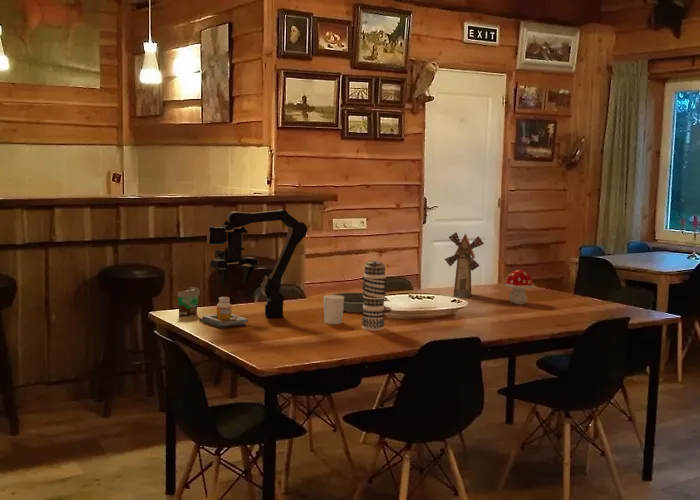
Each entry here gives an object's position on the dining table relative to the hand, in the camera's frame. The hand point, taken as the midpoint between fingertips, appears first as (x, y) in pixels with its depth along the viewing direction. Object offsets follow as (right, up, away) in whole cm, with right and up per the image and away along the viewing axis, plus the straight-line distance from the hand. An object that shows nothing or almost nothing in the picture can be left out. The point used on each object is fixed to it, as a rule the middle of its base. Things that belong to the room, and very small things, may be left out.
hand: (234, 284), depth 318 cm
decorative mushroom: (+120, -11, +52) cm, 131 cm away
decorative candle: (+53, -16, -9) cm, 56 cm away
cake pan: (+47, -11, +31) cm, 58 cm away
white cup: (+38, -15, -1) cm, 41 cm away
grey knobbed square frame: (-3, -14, -9) cm, 17 cm away
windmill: (+97, -8, +67) cm, 118 cm away
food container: (-18, -12, +6) cm, 22 cm away
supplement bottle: (-3, -14, -8) cm, 17 cm away
